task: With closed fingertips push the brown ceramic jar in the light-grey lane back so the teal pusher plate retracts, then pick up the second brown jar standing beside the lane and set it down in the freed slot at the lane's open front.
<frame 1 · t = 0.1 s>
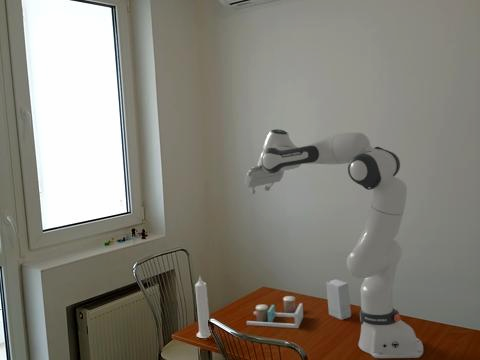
hand: (259, 191, 209), 54 cm above the table, tool tilted 30°, fingers open, 8 cm apart
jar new: (289, 311, 213), on the table
jar front: (262, 320, 206), on the table
skincare box: (339, 316, 204), on the table
pusher: (273, 314, 204), point 3 cm above the table, slide at 0.5 cm
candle: (205, 335, 195), on the table
lane: (275, 320, 204), on the table
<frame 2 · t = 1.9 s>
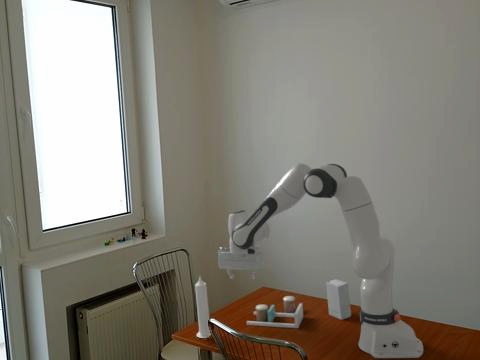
hand: (242, 278, 206), 18 cm above the table, tool pointing down, fingers open, 8 cm apart
nothing on the table moved.
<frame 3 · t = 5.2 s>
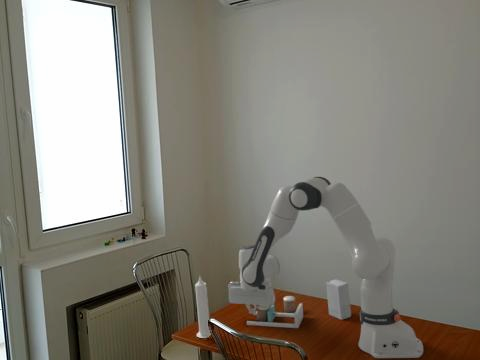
hand: (252, 313, 207), 3 cm above the table, tool pointing down, fingers closed
jar front: (262, 319, 206), on the table, tilted 7°, touching gripper
everything else where it was.
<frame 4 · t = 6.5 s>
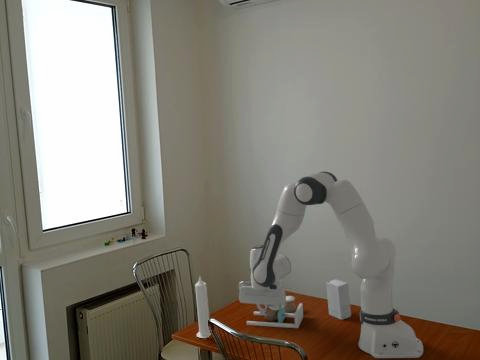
hand: (263, 313, 205), 3 cm above the table, tool pointing down, fingers closed
jar front: (270, 318, 204), point 1 cm above the table, tilted 19°, touching gripper, pusher
pusher: (283, 314, 202), point 3 cm above the table, slide at 5.0 cm, touching jar front
everything else where it was.
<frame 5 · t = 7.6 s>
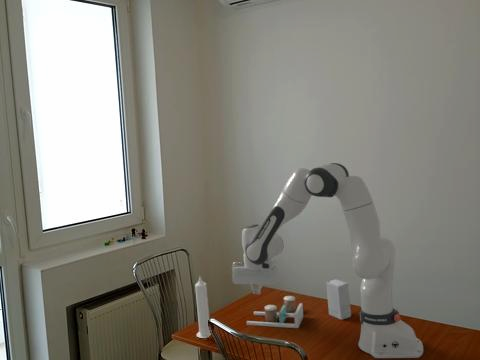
hand: (256, 293, 205), 12 cm above the table, tool pointing down, fingers closed
jar front: (271, 320, 204), on the table
pusher: (285, 314, 202), point 3 cm above the table, slide at 5.5 cm
everything else where it was.
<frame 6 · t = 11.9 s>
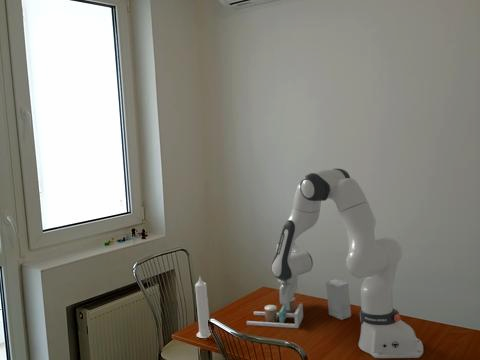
hand: (289, 306, 213), 2 cm above the table, tool pointing down, fingers closed on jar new, 5 cm apart
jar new: (289, 311, 213), on the table, touching gripper
everything else where it was.
when the fingers open (3 cm above the table, at t = 18.5 s): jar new stays where it is, on the table.
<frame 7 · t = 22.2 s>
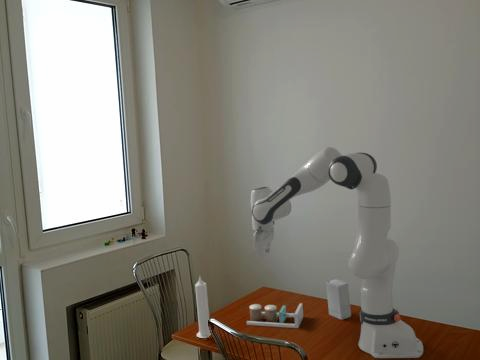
hand: (264, 255, 207), 27 cm above the table, tool pointing down, fingers open, 8 cm apart
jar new: (256, 319, 207), on the table
everything else where it was.
at the end: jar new inside the target area on the lane (0.2 cm from its centre), point 0.0 cm above the lane's base; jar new tilted 0°; pusher slide at 5.5 cm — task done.
